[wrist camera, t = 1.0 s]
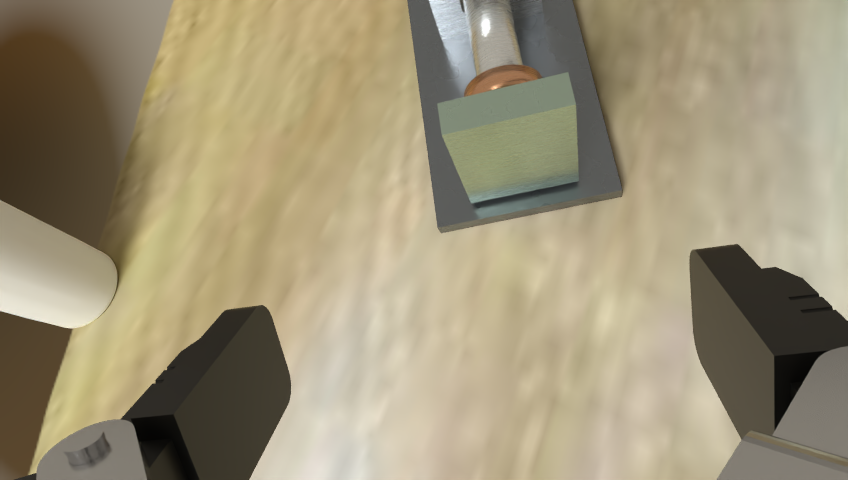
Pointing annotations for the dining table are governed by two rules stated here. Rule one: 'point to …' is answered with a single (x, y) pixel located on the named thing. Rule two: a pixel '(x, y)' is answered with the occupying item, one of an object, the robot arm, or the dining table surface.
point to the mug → (51, 273)
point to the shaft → (508, 115)
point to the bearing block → (540, 49)
